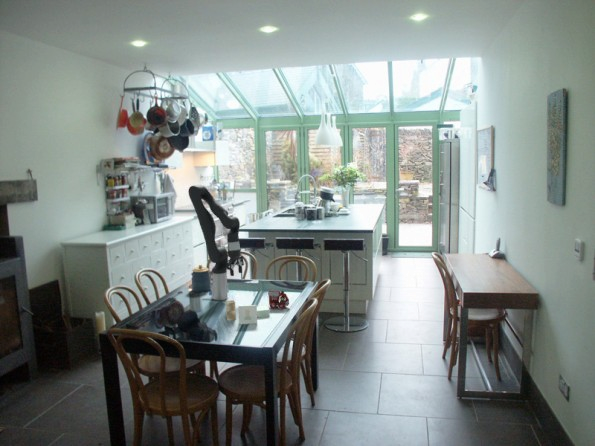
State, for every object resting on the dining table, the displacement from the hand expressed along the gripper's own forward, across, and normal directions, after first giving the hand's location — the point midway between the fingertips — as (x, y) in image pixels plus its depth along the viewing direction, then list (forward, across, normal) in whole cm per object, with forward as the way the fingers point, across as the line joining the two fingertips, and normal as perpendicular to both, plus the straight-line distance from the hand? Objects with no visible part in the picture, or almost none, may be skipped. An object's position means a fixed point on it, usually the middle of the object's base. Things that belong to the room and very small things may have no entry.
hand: (236, 274), depth 311 cm
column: (+18, +30, +16) cm, 39 cm away
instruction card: (+19, +32, +29) cm, 48 cm away
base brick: (+20, +16, +27) cm, 37 cm away
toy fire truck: (+20, 0, +29) cm, 35 cm away
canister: (+15, -11, -39) cm, 43 cm away
